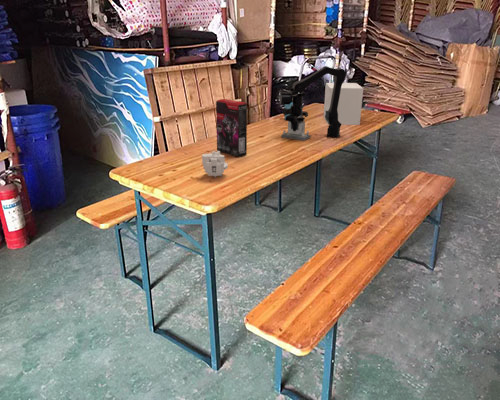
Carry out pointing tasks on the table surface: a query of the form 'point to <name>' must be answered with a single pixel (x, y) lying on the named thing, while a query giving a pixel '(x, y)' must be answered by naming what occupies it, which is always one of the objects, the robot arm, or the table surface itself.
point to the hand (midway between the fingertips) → (296, 130)
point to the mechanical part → (214, 163)
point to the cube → (346, 103)
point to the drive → (299, 129)
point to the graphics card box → (231, 127)
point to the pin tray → (296, 136)
